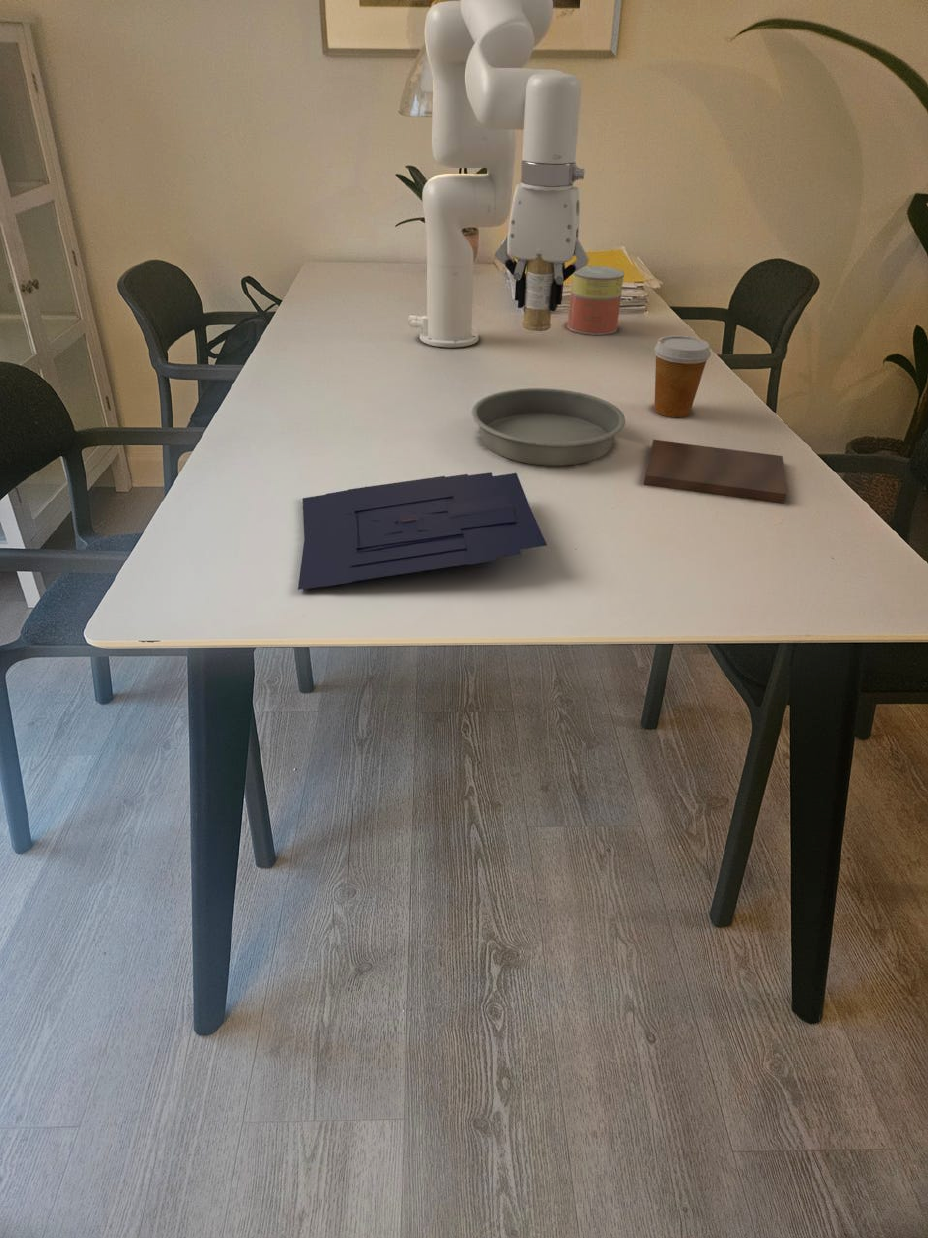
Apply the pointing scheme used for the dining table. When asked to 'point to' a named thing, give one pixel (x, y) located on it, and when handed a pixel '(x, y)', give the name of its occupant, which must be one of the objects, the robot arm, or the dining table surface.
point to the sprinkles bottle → (538, 293)
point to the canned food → (595, 300)
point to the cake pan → (547, 425)
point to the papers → (414, 527)
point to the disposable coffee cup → (678, 373)
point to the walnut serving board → (716, 471)
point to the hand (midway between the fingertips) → (537, 306)
